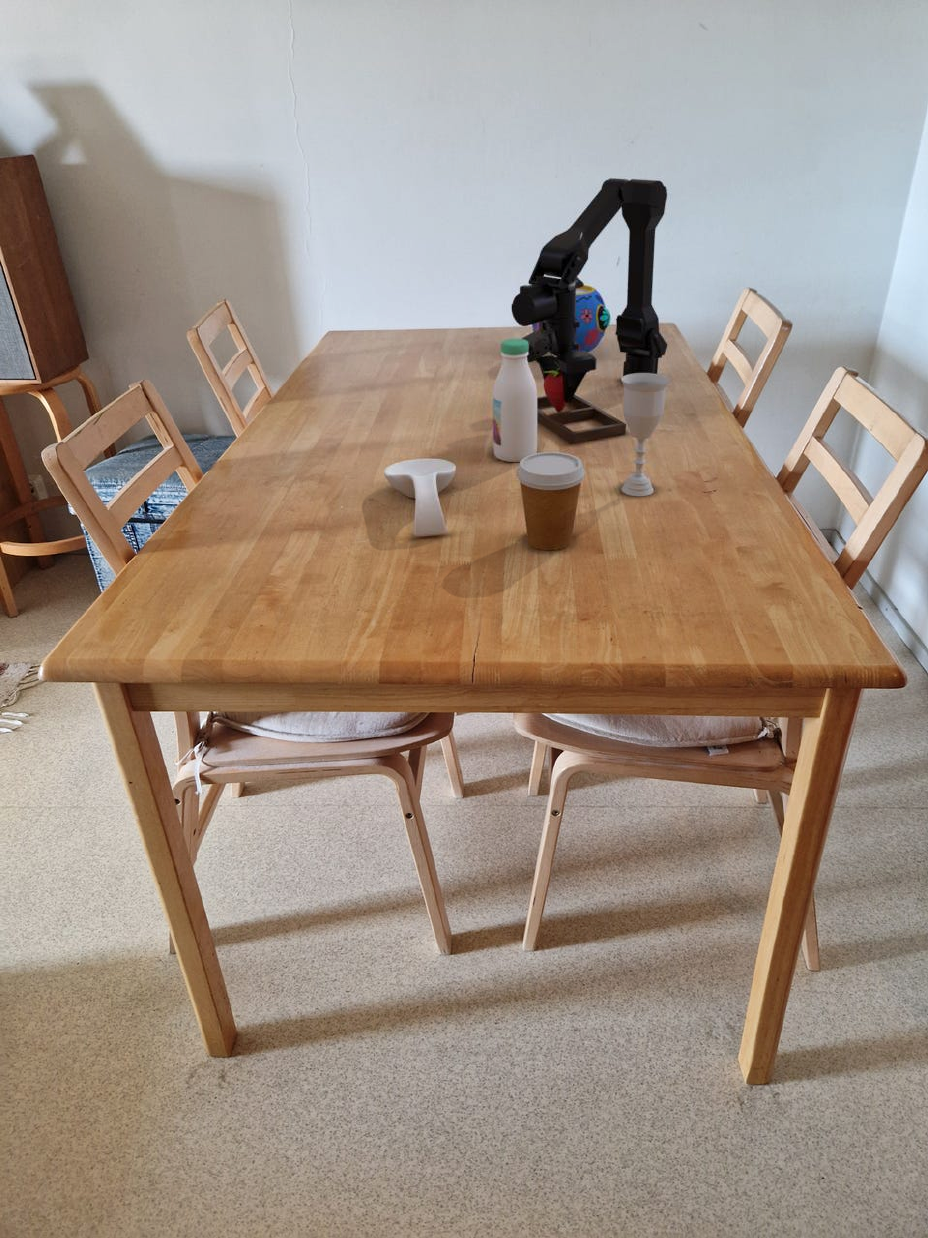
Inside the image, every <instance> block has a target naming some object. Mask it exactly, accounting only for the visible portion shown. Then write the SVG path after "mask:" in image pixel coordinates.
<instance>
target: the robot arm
mask: <svg viewBox="0 0 928 1238" xmlns="http://www.w3.org/2000/svg"><path fill="white" fill-rule="evenodd" d="M667 190H668V189H667V186H666V185H664V182H662V181H661V180H656V179H655V180H653V179H639V178H631V179H627V178H616V177H615V178H613V177H611V178H608V179H606V180H604V181H603V183H602V185H601V189H599V191H598V193H597V194H596V195H595V196H594V198H593V199H592V200H591V201H590V203H588V205H587V206H586V208H585V209H584V210H583V211H582V212H581V213H580V215H579V216H578V217H577V218H576V219H575V221H574V222H573V223H572V225H571V226H570V227H569V228H568V229H566V230H565V231H563V232H561V233H559V234H557V235H555V236H553V238H551V239H550V240H549V241H548V242H546V243H545V245H544V246H543V247H542V248H541V250H540V251H539V257H538V258H537V261H536V263H535V266H534V268H533V269H532V272H531V273H530V277H529V279H528V282H527V283H528V284H524V285H520V286H519V293H518V294H516V296H514V298H513V300H512V303H511V314H512V317H513V320H514V321H515V322H516V323H517V324H518V325H519V326H522V327H528V326H532V324H535V323H539V322H540V323H539V330H537V331H535V332H533V331H532V332H530V333H529V334H527V335H525V336H523V337H521V338H520V339H524V340H526V341H528V345H529V349H528V353H529V354H528V355H527V361H528V363H533V362H536V363H537V364H538V365H539V368H540V372H541V375H542V378H543V381H544V380H545V378H546V377H547V376H548V375H550V374H551V373H544V372H545V371H557V372H558V373H559V374H560V375H561V376H562V380H563V391H564V399H565V403H567V404H569V403H570V402H571V400H572V398H573V396H574V394H575V395H576V392H577V390H578V389H579V387H580V385H581V383H582V381H583V380H584V378H585V376H587V373H590V371H596V370H597V358H596V357H595V356H594V355H593V353H590V352H586V351H584V350H583V351H577V352H573V350H577V349H579V344H578V343H576V342H575V328H577V327H579V324H580V322H579V321H577V320H575V309H576V289H577V288H580V287H583V286H584V285H585V283H584V282H583V281H582V280H581V279H580V278H579V277H578V276H579V275H580V274H581V272H582V271H583V268H585V266H586V264H587V262H588V260H589V254H590V253H589V251H590V248H591V246H592V245H593V244H594V242H595V241H596V240H597V238H598V237H599V236H600V235H601V233H603V231H604V230H605V228H606V227H607V226H608V224H610V222H611V221H612V220H613V218H614V217H615V216H616V214H617V213H618V212H619V211H620V209H621V217H622V218H623V220H624V222H625V224H626V226H627V229H628V233H629V234H628V261H627V264H628V265H627V290H626V291H627V294H626V306H625V308H624V309H623V311H622V312H621V314H618V315H617V316H616V318H615V322H616V323H615V324H616V329H615V333H614V334H615V336H616V339H617V343H618V348H619V353H624V354H625V360H624V361H623V367H622V369H623V371H622V377H623V376H625V375H628V374H634V373H653V374H658V372H659V371H658V370H659V359H661V358H663V356H665V355H666V352H667V348H668V343H667V341H666V340H665V338H664V337H663V335H662V333H661V332H660V321H659V320H660V319H659V316H658V314H657V312H656V310H655V308H654V307H653V302H652V301H653V284H654V283H653V282H654V266H655V265H654V264H655V263H654V262H655V244H656V243H655V242H656V229H657V227H658V225H659V224H660V222H661V220H662V219H663V218H664V215H665V211H666V206H667V205H666V204H667V200H668V191H667ZM555 362H556V363H557V364H558V365H557V364H556V363H555ZM559 368H560V369H559ZM619 381H621V378H620V380H619Z"/></svg>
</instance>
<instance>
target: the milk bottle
mask: <svg viewBox="0 0 928 1238" xmlns="http://www.w3.org/2000/svg"><path fill="white" fill-rule="evenodd" d="M528 349H529V345H528V341H526V340H524V339H521V338H508V339H505V340H502V341H501V343H500V351H501V353H500V355H501V357H502V359H501V360H502V361H501V366H500V369H499V372H498V374H497V376H496V378H495V381H494V385H493V390H492V437H493V438H492V439H493V441H492V442H493V444H492V445H493V454H494V457H495V458H496V459H498V460H500V461H503V462H510V463H520V462H521V460H522V459H523V458H525V457H526V456H529V455H532V454H536V453H538V422H537V409H538V408H537V397H538V391H537V390H538V389H537V383H536V380H535V377H534V375H533V373H532V371H531V369H530V366H529V362H528V361H527V355H528V354H529V353H528Z"/></svg>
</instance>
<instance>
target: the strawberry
mask: <svg viewBox="0 0 928 1238" xmlns="http://www.w3.org/2000/svg"><path fill="white" fill-rule="evenodd" d="M555 363H556V362H555ZM556 364H557V363H556ZM557 365H558V364H557ZM559 369H560V368H559ZM544 373H551V374H550V375H548V376H547V377H546V378H545V380H544V379H543V390H544V394H545V396H547V398H548V399H549V401H550V403H551V404H552V405H553V406H552V407H553V408H554V410H555V411H556V413H561V412H563V411H564V408H565V407H566V406H567V405H568V403H565V399H564V391H563V380H562V376H561V375H560V374H559V373H558V372H557V371H545V372H544Z"/></svg>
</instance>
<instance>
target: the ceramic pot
mask: <svg viewBox="0 0 928 1238" xmlns="http://www.w3.org/2000/svg"><path fill="white" fill-rule="evenodd" d="M575 320H577V321H579V322H580V324H579V327H577V328H575V342H576V343H578V344H579V349H577V350H573V352H577V351H583V350H584V351H586V352H588V353H590V352H592V351H593V350H595V349H596V348H597V347H598V345H599V344H600V342H601V341H602V339H603V338H604V336H605V334H606V333H605V332H606V329H607V328H608V327H609V325H610V322H611V313H610V311H609V309H607V307H606V303H605V301H604V299H603V297H602V295H601V293H600V292H599V291H598V290H597V289H596V288H595V287H593V286H591V285H585V284H584V286H583V287H580V288H577V289H576V309H575ZM539 323H540V322H539ZM539 323H535V324H532V325H531V327H532V332H535V331H537V330H539Z"/></svg>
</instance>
